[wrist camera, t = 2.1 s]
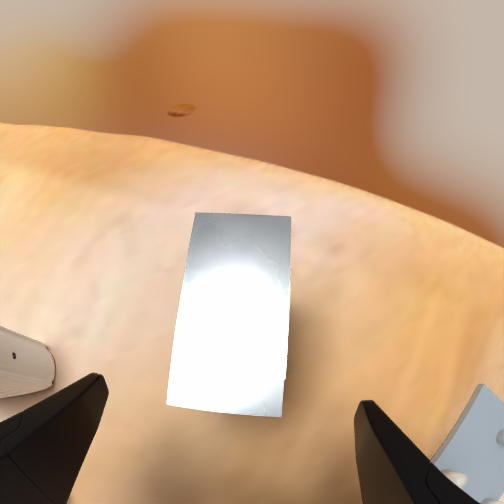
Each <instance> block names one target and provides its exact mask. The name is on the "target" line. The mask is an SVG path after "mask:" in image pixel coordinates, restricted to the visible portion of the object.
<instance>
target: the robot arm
mask: <svg viewBox="0 0 504 504" xmlns="http://www.w3.org/2000/svg"><path fill="white" fill-rule="evenodd" d="M108 395H109V391H108V387H107V385H106V382H105V379H104V377H103V375H101V374H98V373H91V374H89V375H87V376H85V377H83V378H82V379H80V380H78V381H76V382H75V383H73V384H71V385H69V386H67V387H66V388H64V389H62V390H60V391H58V392H57V393H55V394H53V395H51V396H49V397H48V398H46V399H44V400H42V401H40V402H39V403H37V404H35V405H33V406H31V407H29V408H28V409H26V410H24V411H23V412H20V413H18V414H16V415H14V416H12V417H10V418H8V419H6V420H4V421H2V422H0V504H67V501H68V498H69V496H70V493H71V491H72V488H73V486H74V483H75V481H76V478H77V476H78V473H79V471H80V468H81V466H82V464H83V461H84V459H85V457H86V454H87V452H88V450H89V447H90V445H91V443H92V440H93V438H94V436H95V434H96V431H97V429H98V426H99V423H100V420H101V417H102V414H103V411H104V407H105V404H106V401H107V398H108ZM354 430H355V451H356V463H357V469H358V475H359V482H360V488H361V495H362V502H363V504H481V503H479V502H478V501H476V500H475V499H474V498H472V497H471V496H470V495H468V494H467V493H466V492H464V491H463V490H462V489H461V488H459V487H458V486H457V485H456V484H454V483H453V482H452V481H451V480H450V479H449V478H447V477H446V476H445V475H444V474H443V473H442V472H441V471H440V470H439V469H438V468H437V467H436V466H435V465H434V464H433V463H432V462H431V461H430V460H429V459H428V458H427V457H426V456H425V455H424V454H423V453H422V451H421V450H420V449H419V448H418V447H417V446H416V445H415V444H414V443H413V442H412V441H411V440H410V439H409V438H408V437H407V436H406V435H405V434H404V433H403V432H402V431H401V429H400V428H399V427H398V426H397V425H396V424H395V423H394V422H393V421H392V420H391V419H390V418H389V417H388V416H387V415H386V414H385V413H384V412H383V410H382V409H381V408H380V407H379V406H378V405H377V404H376V403H375V402H374V401H373V400H362V401H361V402H360V403H359V406H358V408H357V411H356V414H355V417H354ZM430 462H431V463H430Z"/></svg>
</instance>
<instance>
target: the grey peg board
mask: <svg viewBox="0 0 504 504" xmlns="http://www.w3.org/2000/svg"><path fill="white" fill-rule="evenodd" d="M430 461H431V462H432V463H433V464H434V465H435V466H436V467H437V468H438V469H439V470H440V471H441V472H442V473H443V474H444V475H445V476H446V477H447V478H449V479H450V480H451V481H452V482H453V483H454V484H456V485H457V486H458V487H459V488H461V489H462V490H463V491H464V492H466V493H467V494H468V495H470V496H471V497H472V498H474V499H475V500H476V501H478V502H479V503H481V504H504V502H501V501H498V500H499V498H500V497H501V495H502V494H503V492H504V403H503V402H502V401H501V400H500V399H499V398H498V397H497V396H496V395H495V394H494V393H493V392H492V391H491V390H490V389H489V388H488V387H487V386H486V385H485V384H480V385H478V386H477V388H476V390H475V392H474V394H473V395H472V397H471V399H470V401H469V402H468V404H467V406H466V408H465V409H464V411H463V413H462V414H461V416H460V418H459V419H458V421H457V423H456V424H455V426H454V427H453V429H452V430H451V432H450V433H449V435H448V436H447V438H446V439H445V441H444V442H443V444H442V445H441V447H440V448H439V449H438V451H437V452H436V454H435V455H434V456H433V458H432V459H431V460H430ZM431 462H430V463H431Z"/></svg>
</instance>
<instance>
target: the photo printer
mask: <svg viewBox="0 0 504 504" xmlns="http://www.w3.org/2000/svg"><path fill="white" fill-rule="evenodd" d="M54 376H55V364H54V360H53V357H52V355H51V353H50V352H49V350H47V349H46V345H45V344H43V343H41V342H39V341H37V340H34V339H31V338H29V337H26V336H24V335H21V334H19V333H16V332H14V331H11V330H9V329H6V328H4V327H2V326H0V398H6V397H12V396H19V395H24V394H29V393H33V392H37V391H41V390H44V389H47V388H49V387H50V386H52V381H53V380H54Z"/></svg>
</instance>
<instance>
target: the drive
mask: <svg viewBox="0 0 504 504" xmlns="http://www.w3.org/2000/svg"><path fill="white" fill-rule="evenodd" d="M290 244H291V217H289V216H271V215H250V214H226V213H195V218H194V223H193V228H192V233H191V239H190V244H189V249H188V255H187V261H186V266H185V272H184V278H183V284H182V290H181V296H180V303H179V309H178V316H177V322H176V329H175V337H174V344H173V352H172V359H171V367H170V376H169V385H168V394H167V405H173V406H179V407H185V408H191V409H198V410H205V411H213V412H221V413H230V414H241V415H253V416H268V417H281V415H282V403H283V389H284V379H285V377H286V362H287V345H288V326H289V304H290V279H291V268H290Z"/></svg>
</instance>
